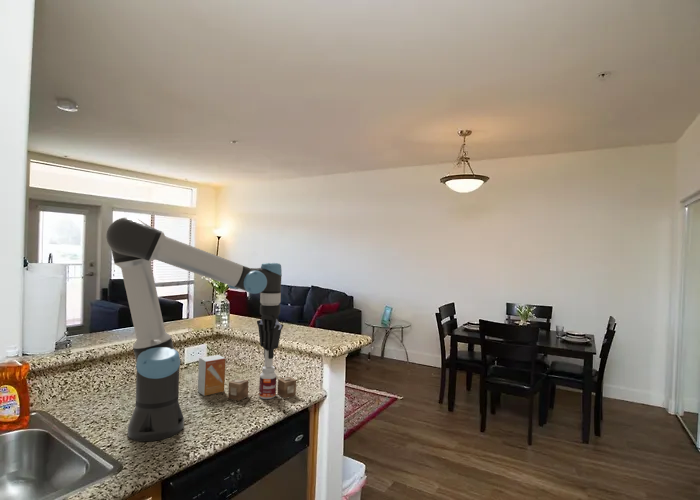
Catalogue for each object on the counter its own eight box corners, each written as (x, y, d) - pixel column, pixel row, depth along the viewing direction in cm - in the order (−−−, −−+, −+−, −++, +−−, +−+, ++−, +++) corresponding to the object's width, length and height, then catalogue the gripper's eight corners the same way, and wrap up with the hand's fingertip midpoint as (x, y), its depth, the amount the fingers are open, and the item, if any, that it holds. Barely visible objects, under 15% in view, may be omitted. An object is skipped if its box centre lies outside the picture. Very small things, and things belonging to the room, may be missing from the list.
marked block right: (284, 398, 146) (285, 382, 146) (277, 394, 150) (278, 378, 150) (296, 396, 149) (296, 379, 149) (288, 392, 153) (289, 376, 153)
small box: (204, 396, 146) (205, 361, 146) (197, 391, 150) (198, 357, 150) (224, 391, 151) (226, 357, 151) (217, 387, 156) (218, 354, 156)
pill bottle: (262, 400, 143) (263, 370, 143) (256, 395, 149) (257, 366, 149) (278, 397, 147) (279, 368, 147) (272, 392, 152) (273, 364, 152)
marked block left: (238, 401, 143) (239, 384, 143) (227, 398, 145) (228, 381, 145) (248, 396, 147) (248, 379, 147) (237, 394, 149) (238, 377, 149)
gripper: (289, 305, 146) (287, 368, 146) (267, 301, 155) (265, 361, 155) (273, 306, 141) (271, 372, 141) (251, 302, 149) (249, 364, 149)
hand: (268, 366), depth 148 cm, fingers closed
